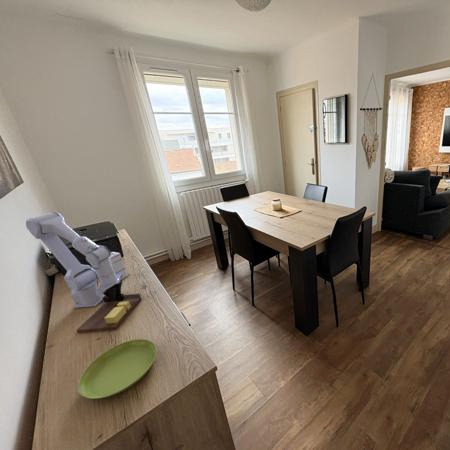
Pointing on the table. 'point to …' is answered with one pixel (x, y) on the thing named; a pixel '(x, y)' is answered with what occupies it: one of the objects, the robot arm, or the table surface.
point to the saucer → (117, 369)
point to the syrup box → (118, 264)
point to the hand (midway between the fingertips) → (116, 298)
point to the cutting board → (98, 317)
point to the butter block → (115, 315)
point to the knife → (123, 297)
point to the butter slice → (124, 305)
